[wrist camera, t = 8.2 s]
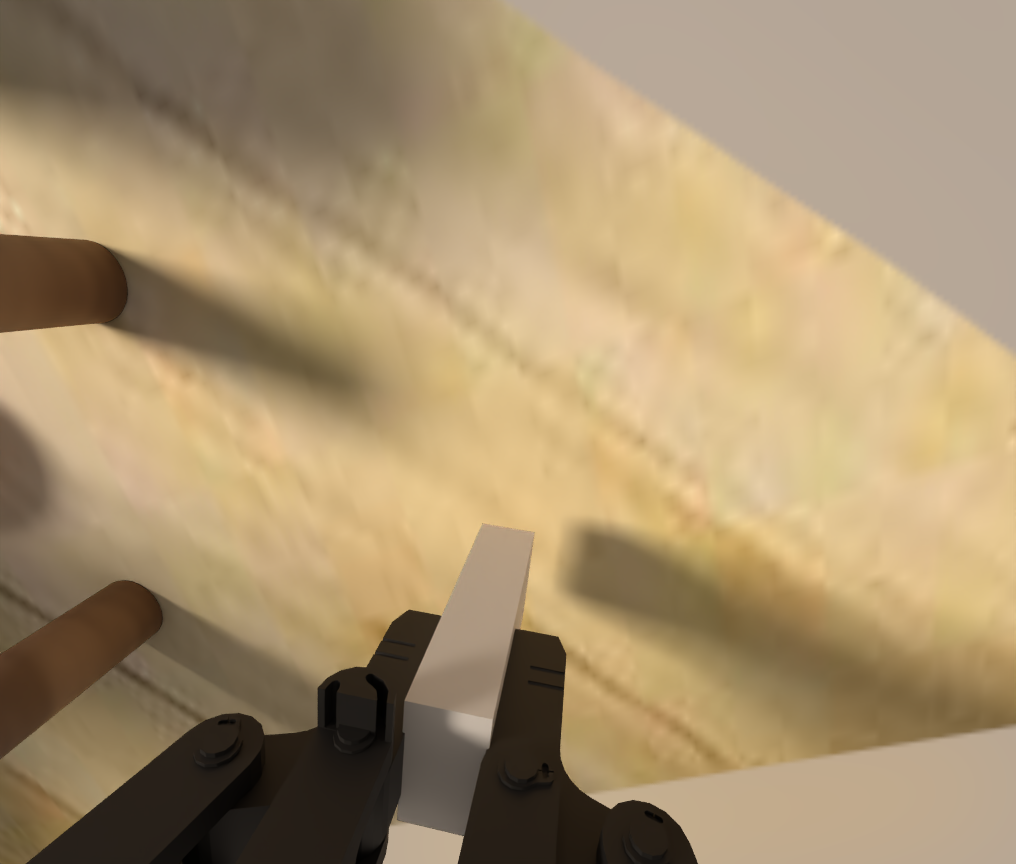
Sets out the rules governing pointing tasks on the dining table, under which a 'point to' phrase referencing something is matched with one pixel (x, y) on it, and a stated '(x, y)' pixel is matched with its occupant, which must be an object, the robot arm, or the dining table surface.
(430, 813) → the robot arm
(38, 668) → the post
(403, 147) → the dining table surface
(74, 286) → the post
